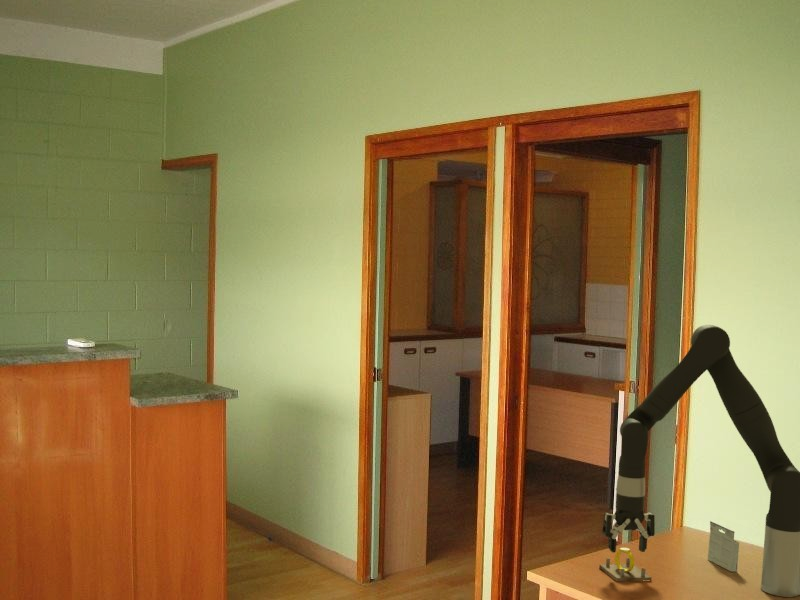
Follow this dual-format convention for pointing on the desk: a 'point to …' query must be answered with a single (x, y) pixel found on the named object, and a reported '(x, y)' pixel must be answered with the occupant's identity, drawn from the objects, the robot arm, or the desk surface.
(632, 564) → the watch
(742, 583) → the desk surface
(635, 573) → the pin plate
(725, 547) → the ink box
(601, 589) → the desk surface
